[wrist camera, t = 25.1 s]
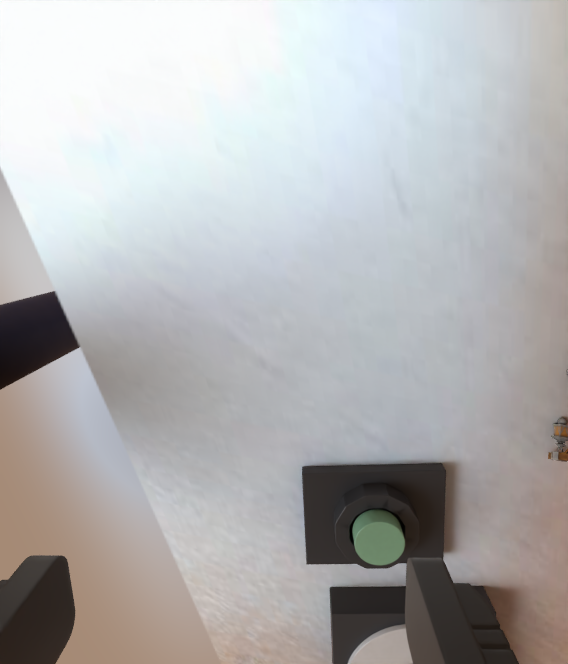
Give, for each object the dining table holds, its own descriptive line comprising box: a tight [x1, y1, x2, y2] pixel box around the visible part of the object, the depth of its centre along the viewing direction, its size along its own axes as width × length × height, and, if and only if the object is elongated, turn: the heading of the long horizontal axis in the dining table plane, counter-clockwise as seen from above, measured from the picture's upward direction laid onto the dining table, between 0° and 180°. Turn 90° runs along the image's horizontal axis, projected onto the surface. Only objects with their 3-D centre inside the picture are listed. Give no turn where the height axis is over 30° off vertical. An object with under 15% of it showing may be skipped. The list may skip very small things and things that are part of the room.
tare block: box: [302, 463, 446, 568], centre depth 39 cm, size 12×9×3 cm
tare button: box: [352, 509, 405, 565], centre depth 37 cm, size 4×4×2 cm
